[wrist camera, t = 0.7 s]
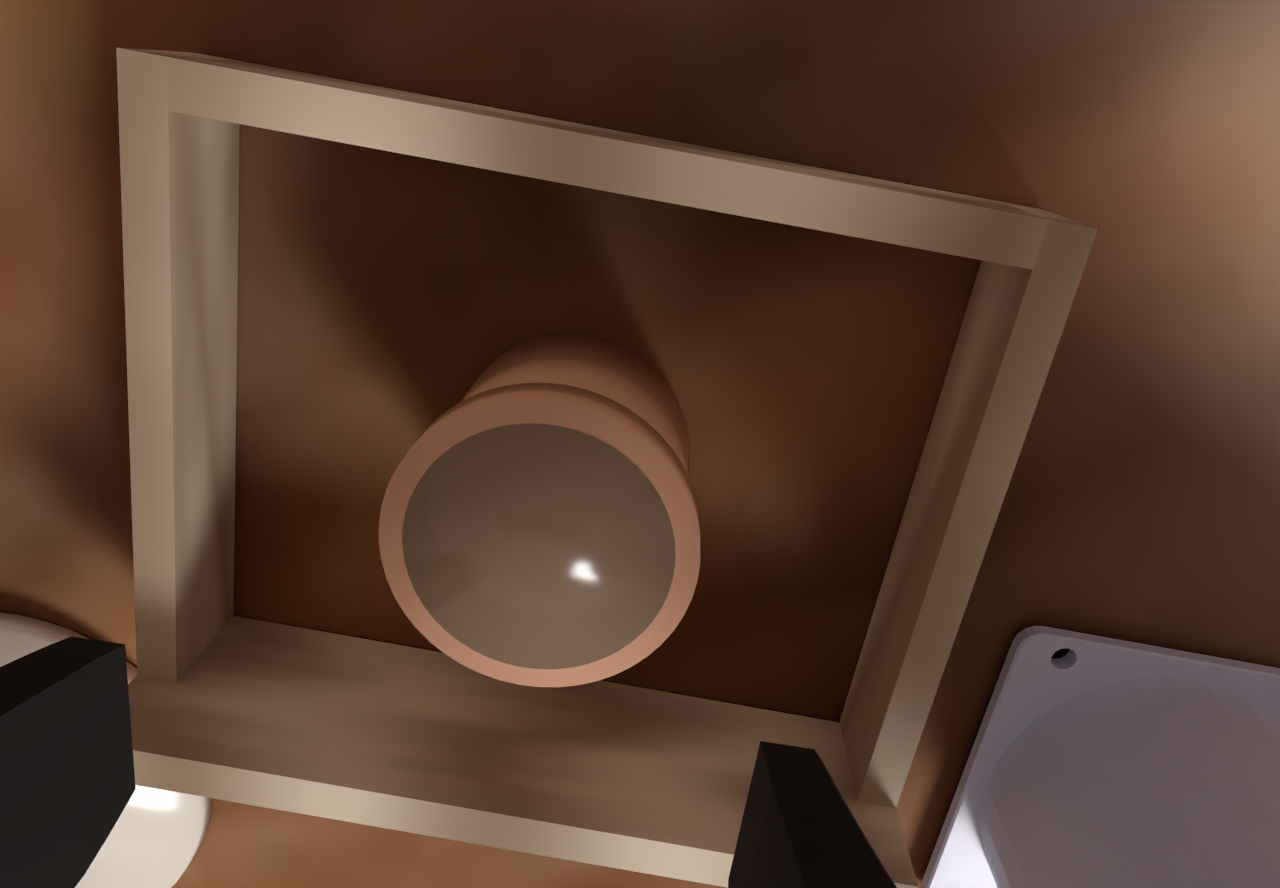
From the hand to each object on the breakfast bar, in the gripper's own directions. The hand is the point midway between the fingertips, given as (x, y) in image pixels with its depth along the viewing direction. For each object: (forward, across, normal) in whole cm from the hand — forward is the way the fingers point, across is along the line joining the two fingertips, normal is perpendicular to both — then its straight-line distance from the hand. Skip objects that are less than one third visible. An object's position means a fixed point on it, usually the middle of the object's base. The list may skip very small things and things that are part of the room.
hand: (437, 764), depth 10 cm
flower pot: (+9, 0, 0) cm, 9 cm away
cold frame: (+9, 0, 0) cm, 9 cm away
